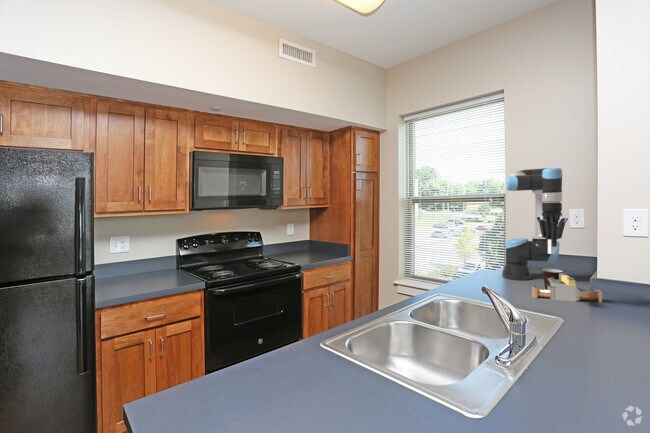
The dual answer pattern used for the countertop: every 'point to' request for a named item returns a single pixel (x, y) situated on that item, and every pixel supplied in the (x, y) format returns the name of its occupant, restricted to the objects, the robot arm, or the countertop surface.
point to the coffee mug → (551, 276)
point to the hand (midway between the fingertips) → (551, 253)
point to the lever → (566, 279)
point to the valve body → (566, 292)
